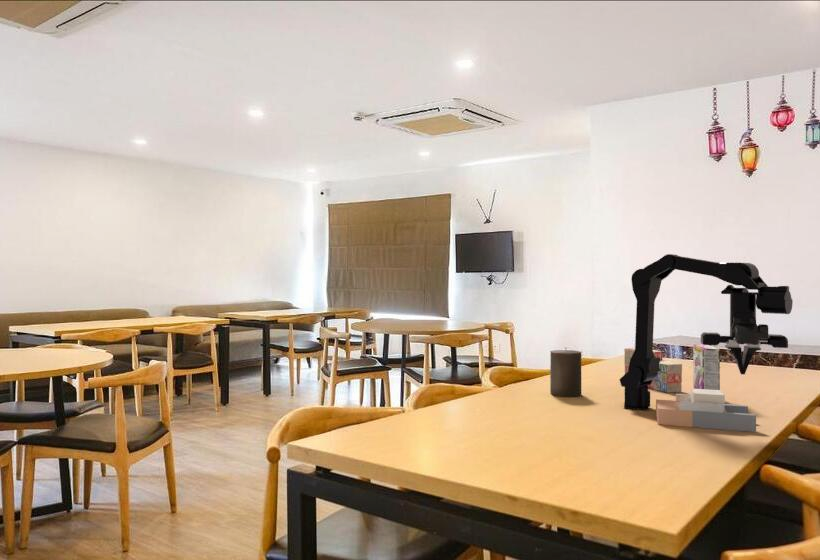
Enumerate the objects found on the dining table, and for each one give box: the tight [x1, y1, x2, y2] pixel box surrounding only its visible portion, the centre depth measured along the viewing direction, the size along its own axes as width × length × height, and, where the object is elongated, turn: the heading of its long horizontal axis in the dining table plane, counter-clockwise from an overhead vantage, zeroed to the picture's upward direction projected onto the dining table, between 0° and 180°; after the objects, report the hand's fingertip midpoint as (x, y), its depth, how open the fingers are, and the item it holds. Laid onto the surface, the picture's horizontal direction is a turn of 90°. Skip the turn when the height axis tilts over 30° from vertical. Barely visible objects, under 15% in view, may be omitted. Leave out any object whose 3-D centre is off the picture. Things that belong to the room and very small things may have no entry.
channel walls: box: [675, 393, 724, 413], centre depth 155 cm, size 10×11×2 cm
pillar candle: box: [549, 347, 582, 398], centre depth 191 cm, size 10×10×15 cm
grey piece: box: [655, 399, 757, 433], centre depth 154 cm, size 22×12×4 cm, turn 70°
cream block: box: [690, 388, 726, 411], centre depth 154 cm, size 7×7×4 cm
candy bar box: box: [692, 344, 721, 390], centre depth 182 cm, size 11×5×16 cm, turn 168°
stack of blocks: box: [623, 347, 683, 394], centre depth 205 cm, size 21×6×12 cm, turn 18°
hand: (742, 374), depth 151 cm, fingers closed
